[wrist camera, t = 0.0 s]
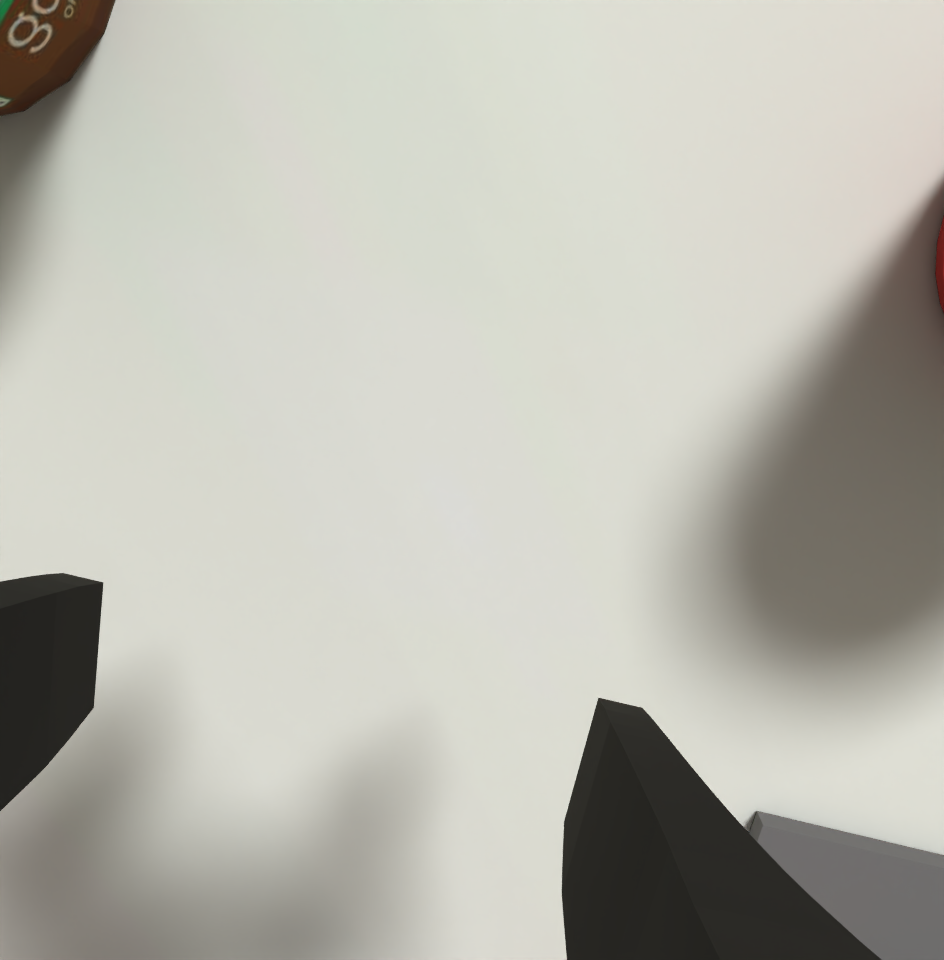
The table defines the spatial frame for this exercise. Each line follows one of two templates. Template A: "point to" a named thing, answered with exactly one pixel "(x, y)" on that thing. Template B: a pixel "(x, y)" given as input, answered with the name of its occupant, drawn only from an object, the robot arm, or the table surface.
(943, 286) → the canned food
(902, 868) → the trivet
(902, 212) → the table surface
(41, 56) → the food container
